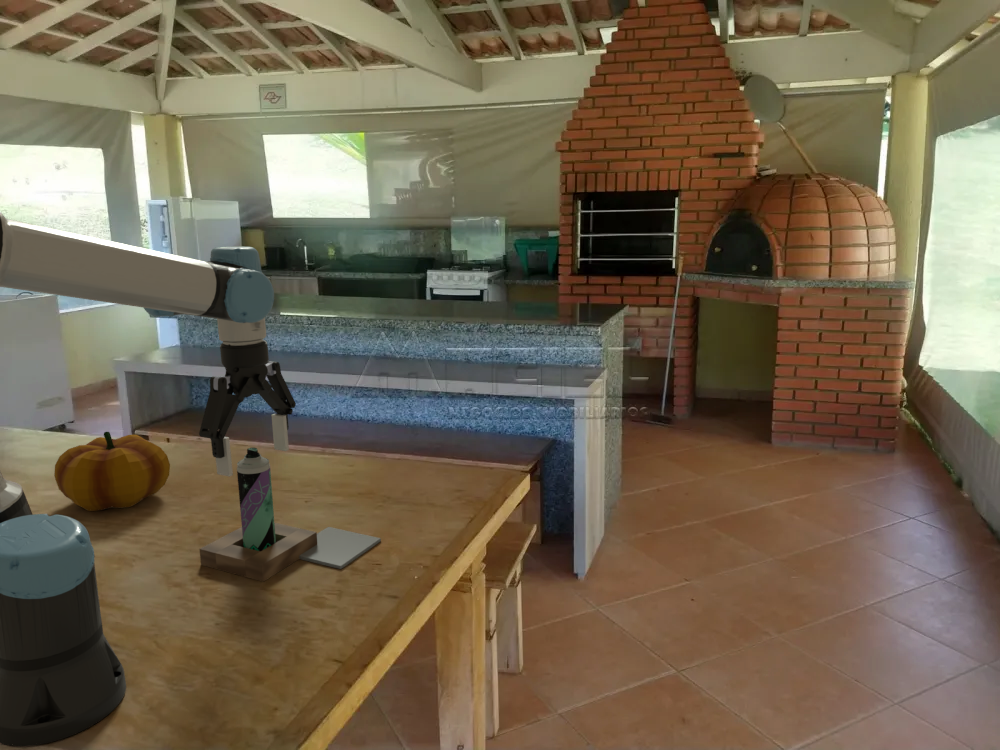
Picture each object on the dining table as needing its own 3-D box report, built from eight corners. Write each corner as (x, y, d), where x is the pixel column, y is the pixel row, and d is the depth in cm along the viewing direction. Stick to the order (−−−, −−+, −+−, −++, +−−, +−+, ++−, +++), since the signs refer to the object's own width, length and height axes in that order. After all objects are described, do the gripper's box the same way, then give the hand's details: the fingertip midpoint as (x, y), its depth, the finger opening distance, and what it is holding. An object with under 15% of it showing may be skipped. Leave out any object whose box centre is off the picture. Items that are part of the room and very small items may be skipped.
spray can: (242, 552, 134) (233, 446, 130) (274, 546, 137) (266, 442, 132) (246, 565, 130) (237, 455, 125) (279, 559, 132) (270, 451, 127)
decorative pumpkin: (34, 516, 151) (23, 445, 147) (114, 478, 171) (106, 415, 168) (120, 526, 146) (111, 452, 142) (191, 485, 167) (184, 420, 163)
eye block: (263, 581, 124) (261, 565, 123) (201, 564, 130) (199, 548, 129) (317, 547, 136) (316, 532, 136) (258, 533, 142) (257, 518, 142)
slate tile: (340, 569, 128) (340, 565, 128) (286, 555, 133) (285, 552, 133) (380, 541, 139) (380, 538, 139) (328, 529, 144) (328, 526, 144)
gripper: (201, 357, 112) (215, 490, 117) (310, 330, 134) (318, 443, 139) (165, 353, 115) (181, 482, 120) (277, 327, 137) (286, 437, 142)
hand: (254, 461), depth 129 cm, fingers open, 13 cm apart
